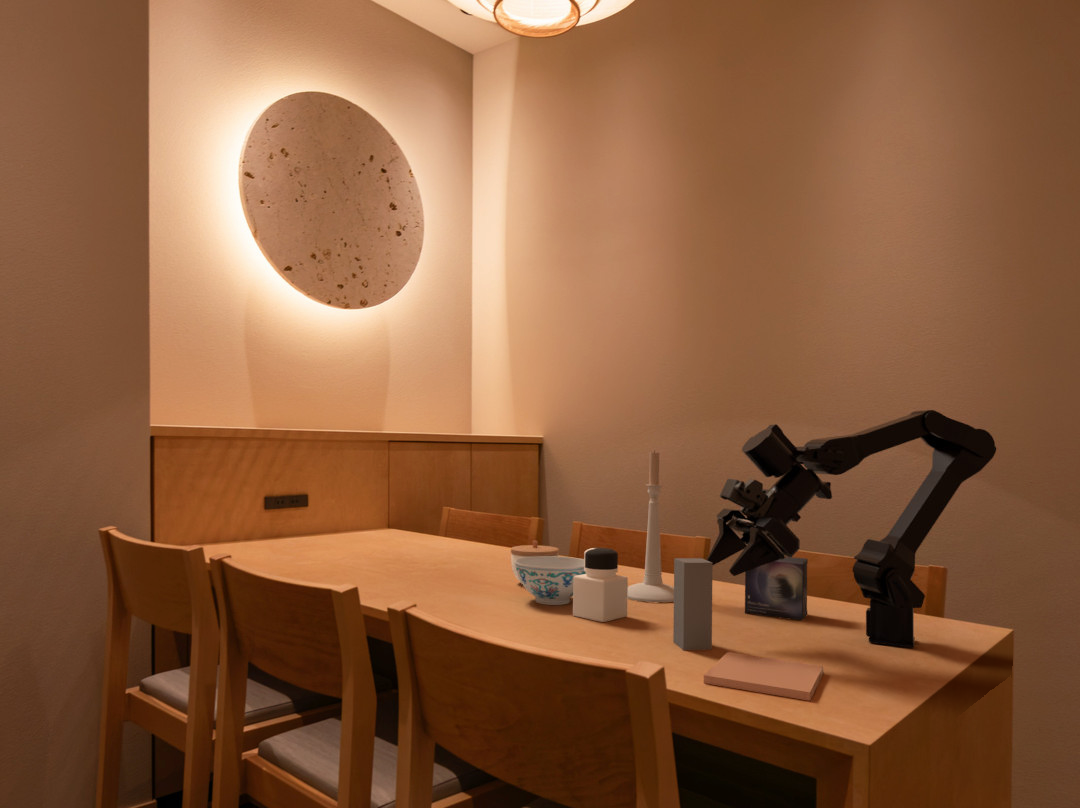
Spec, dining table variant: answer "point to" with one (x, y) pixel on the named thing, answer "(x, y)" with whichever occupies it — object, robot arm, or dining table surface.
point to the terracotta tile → (765, 675)
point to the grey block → (692, 603)
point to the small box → (778, 589)
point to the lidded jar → (530, 553)
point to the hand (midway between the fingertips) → (719, 568)
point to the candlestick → (652, 548)
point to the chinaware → (549, 577)
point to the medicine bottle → (600, 587)
